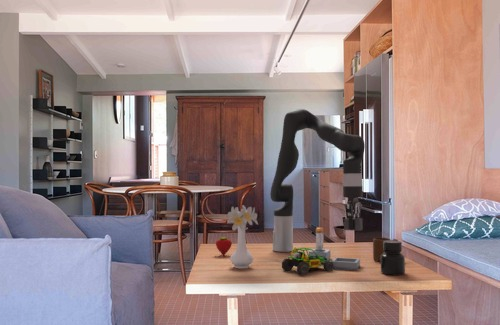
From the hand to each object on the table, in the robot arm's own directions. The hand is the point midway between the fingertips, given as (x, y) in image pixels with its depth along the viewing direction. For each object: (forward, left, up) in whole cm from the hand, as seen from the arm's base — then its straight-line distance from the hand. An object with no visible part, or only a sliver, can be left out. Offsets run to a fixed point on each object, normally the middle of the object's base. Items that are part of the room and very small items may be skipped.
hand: (353, 228), depth 181 cm
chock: (0, 0, 0) cm, 0 cm away
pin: (-18, +19, -16) cm, 30 cm away
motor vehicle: (-17, -5, -17) cm, 25 cm away
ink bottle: (+14, +1, -17) cm, 22 cm away
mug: (+10, +27, -17) cm, 33 cm away
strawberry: (-63, +16, -17) cm, 67 cm away
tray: (-4, +6, -16) cm, 18 cm away
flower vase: (-44, -8, -17) cm, 47 cm away
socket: (-18, +19, -16) cm, 30 cm away
